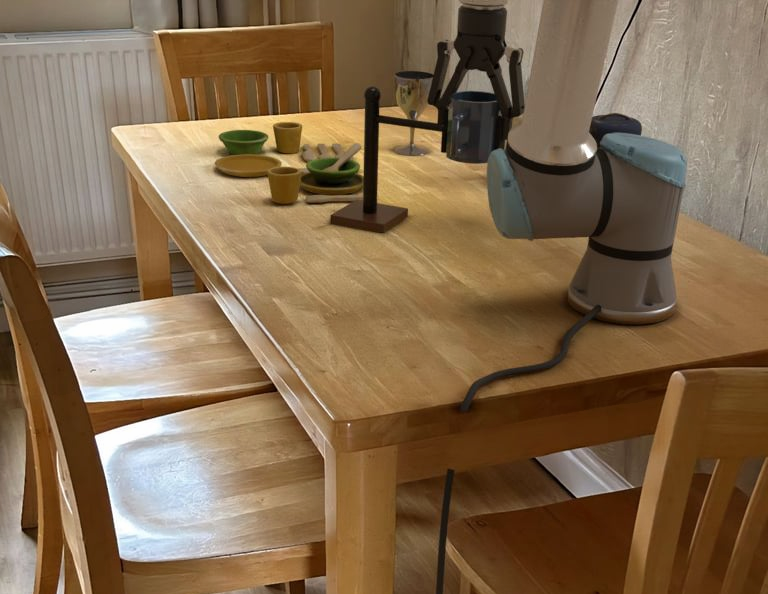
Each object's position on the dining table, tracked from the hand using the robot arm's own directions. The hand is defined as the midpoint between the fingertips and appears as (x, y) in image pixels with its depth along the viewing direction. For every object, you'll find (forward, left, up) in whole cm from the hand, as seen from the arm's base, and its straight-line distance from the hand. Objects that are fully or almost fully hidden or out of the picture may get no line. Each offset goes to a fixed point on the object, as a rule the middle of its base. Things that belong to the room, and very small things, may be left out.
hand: (472, 154), depth 174 cm
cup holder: (-6, +12, -12) cm, 18 cm away
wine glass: (+39, +28, -12) cm, 49 cm away
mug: (-2, 0, 0) cm, 2 cm away
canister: (+15, -19, -12) cm, 27 cm away
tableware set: (+11, +41, -12) cm, 44 cm away
